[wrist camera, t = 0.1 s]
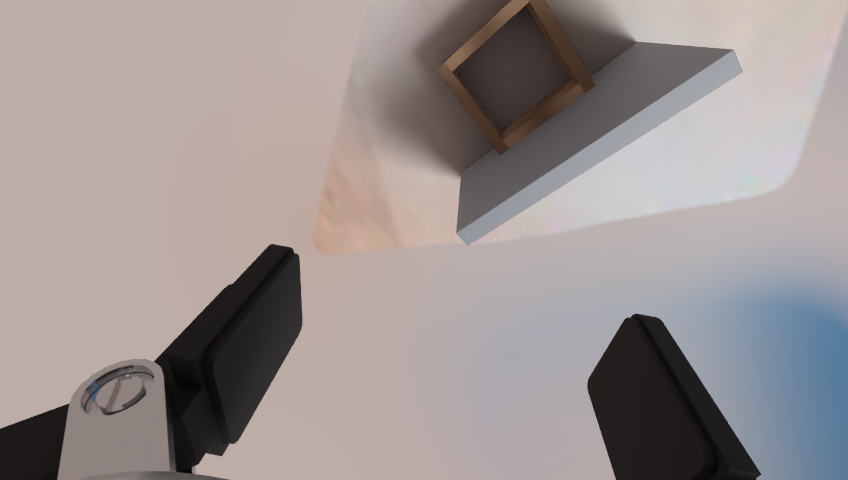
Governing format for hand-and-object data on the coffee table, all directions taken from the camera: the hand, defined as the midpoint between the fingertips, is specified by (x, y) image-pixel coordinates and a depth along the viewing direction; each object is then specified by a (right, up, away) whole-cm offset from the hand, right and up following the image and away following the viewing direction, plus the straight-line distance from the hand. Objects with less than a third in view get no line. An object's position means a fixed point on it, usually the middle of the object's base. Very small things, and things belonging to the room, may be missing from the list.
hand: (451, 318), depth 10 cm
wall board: (+11, +15, +26) cm, 32 cm away
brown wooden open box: (+8, +19, +24) cm, 32 cm away
